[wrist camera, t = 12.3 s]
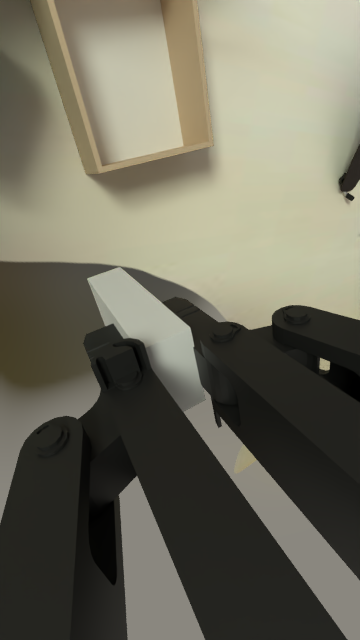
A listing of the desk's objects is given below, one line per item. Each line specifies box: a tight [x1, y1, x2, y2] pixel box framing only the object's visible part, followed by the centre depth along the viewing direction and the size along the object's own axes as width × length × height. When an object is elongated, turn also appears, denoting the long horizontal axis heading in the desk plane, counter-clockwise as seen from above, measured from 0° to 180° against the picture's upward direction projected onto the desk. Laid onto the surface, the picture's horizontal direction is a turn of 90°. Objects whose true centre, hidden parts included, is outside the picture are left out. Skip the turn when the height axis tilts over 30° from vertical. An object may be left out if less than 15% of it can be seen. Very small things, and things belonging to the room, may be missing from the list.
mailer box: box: [30, 0, 214, 174], centre depth 36 cm, size 16×18×8 cm
